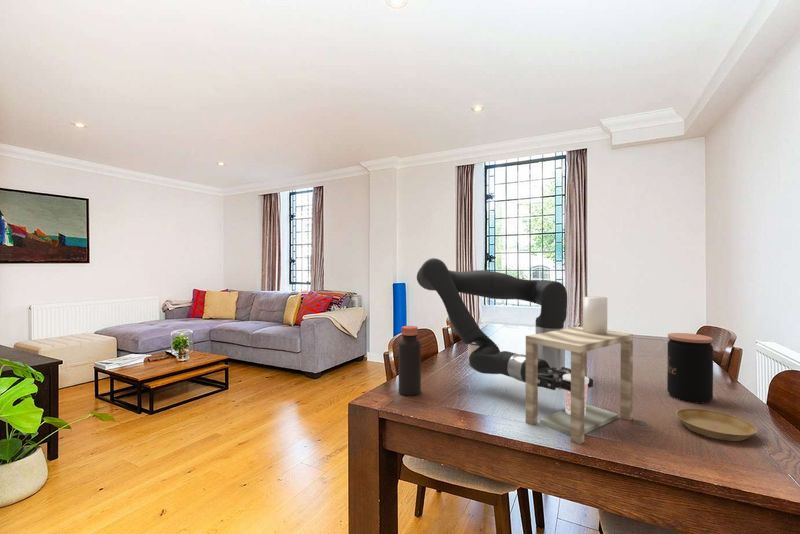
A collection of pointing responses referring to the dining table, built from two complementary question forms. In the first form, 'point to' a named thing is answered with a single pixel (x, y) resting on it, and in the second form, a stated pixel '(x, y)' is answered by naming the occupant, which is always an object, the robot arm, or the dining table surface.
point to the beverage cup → (568, 394)
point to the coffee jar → (690, 367)
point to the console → (578, 380)
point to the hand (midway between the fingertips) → (584, 385)
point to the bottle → (409, 362)
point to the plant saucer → (703, 418)
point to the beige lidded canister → (471, 349)
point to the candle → (595, 315)
